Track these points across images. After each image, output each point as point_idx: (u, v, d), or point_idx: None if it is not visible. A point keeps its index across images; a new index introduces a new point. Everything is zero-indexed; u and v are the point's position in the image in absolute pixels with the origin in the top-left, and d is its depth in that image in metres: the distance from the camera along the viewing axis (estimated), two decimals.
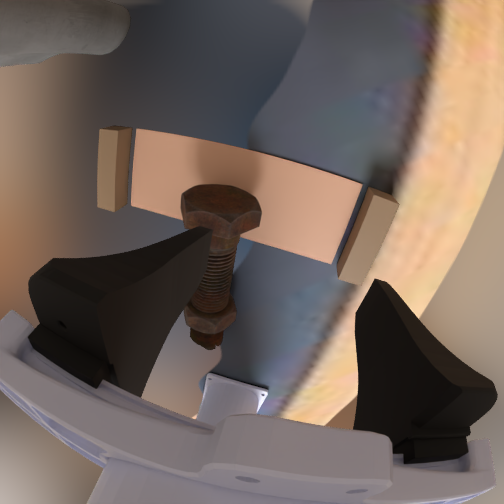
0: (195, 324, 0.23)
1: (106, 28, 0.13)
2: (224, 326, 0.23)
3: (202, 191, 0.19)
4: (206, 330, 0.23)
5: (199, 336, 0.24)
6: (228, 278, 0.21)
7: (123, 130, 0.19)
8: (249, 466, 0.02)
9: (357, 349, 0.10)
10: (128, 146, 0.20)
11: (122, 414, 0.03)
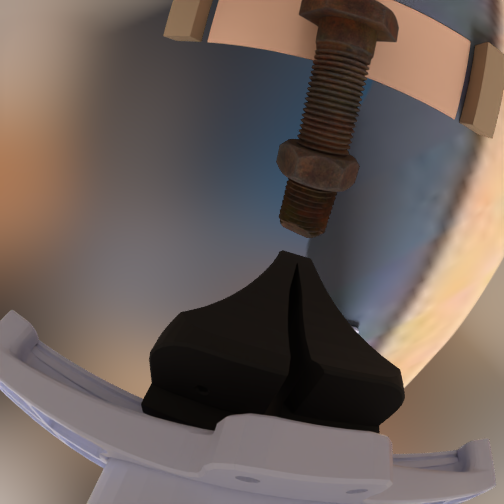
0: (309, 171, 0.14)
1: None
2: (347, 182, 0.15)
3: None
4: (326, 182, 0.14)
5: (303, 207, 0.16)
6: (359, 103, 0.13)
7: None
8: (249, 466, 0.02)
9: None
10: None
11: (122, 414, 0.03)
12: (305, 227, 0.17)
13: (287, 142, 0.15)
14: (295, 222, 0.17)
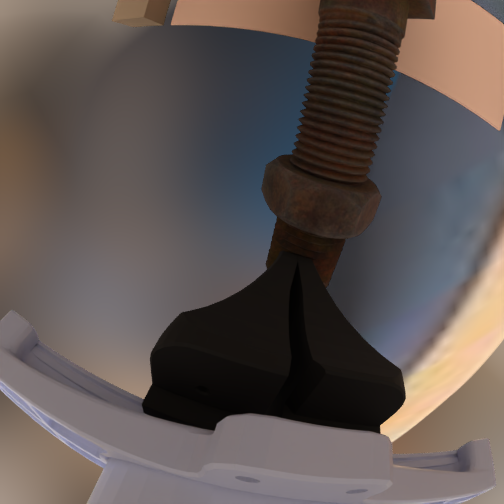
0: (309, 211, 0.09)
1: None
2: (364, 223, 0.10)
3: None
4: (335, 227, 0.10)
5: None
6: None
7: None
8: (249, 466, 0.02)
9: None
10: None
11: (122, 414, 0.03)
12: None
13: (276, 162, 0.10)
14: None
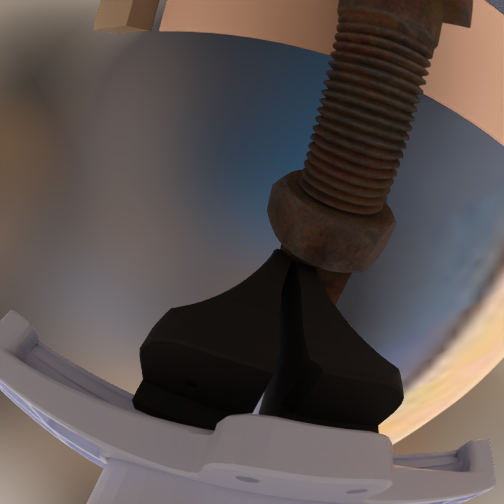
0: (318, 246, 0.09)
1: None
2: (375, 254, 0.09)
3: None
4: (345, 263, 0.09)
5: None
6: None
7: None
8: (249, 466, 0.02)
9: None
10: None
11: (122, 414, 0.03)
12: None
13: (284, 185, 0.09)
14: None
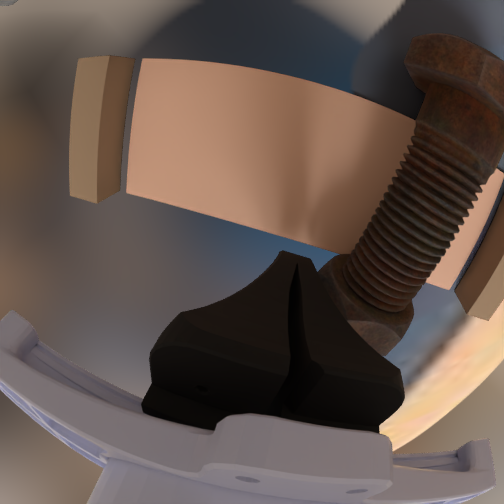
0: None
1: None
2: None
3: None
4: None
5: None
6: None
7: (119, 58, 0.09)
8: (249, 466, 0.02)
9: None
10: (125, 88, 0.10)
11: (122, 414, 0.03)
12: None
13: (331, 277, 0.10)
14: None
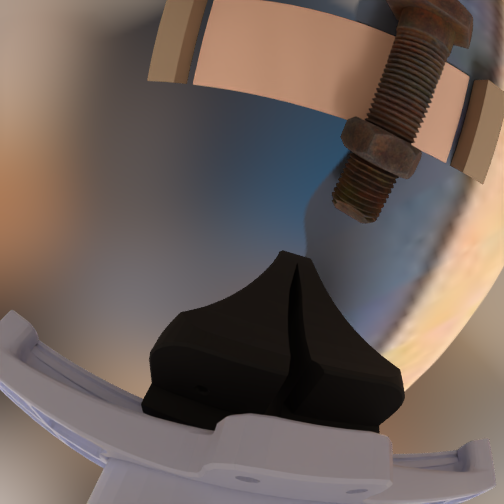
0: (383, 151, 0.12)
1: None
2: (412, 170, 0.13)
3: None
4: (398, 166, 0.12)
5: (366, 188, 0.14)
6: (432, 95, 0.11)
7: None
8: (249, 466, 0.02)
9: None
10: (201, 13, 0.13)
11: (122, 414, 0.03)
12: (363, 210, 0.15)
13: (358, 118, 0.13)
14: (354, 203, 0.15)
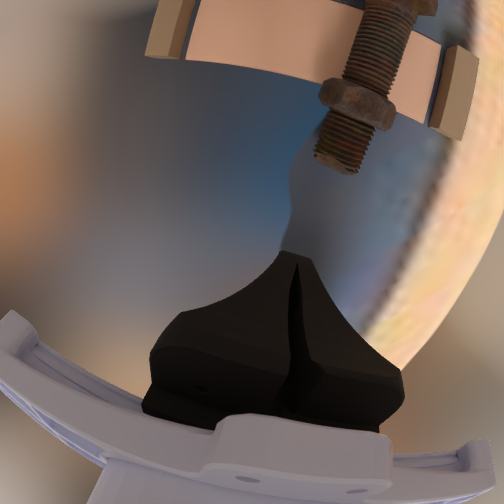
0: (356, 101, 0.13)
1: None
2: (386, 122, 0.14)
3: None
4: (371, 114, 0.13)
5: (343, 138, 0.15)
6: (401, 56, 0.12)
7: None
8: (249, 466, 0.02)
9: None
10: None
11: (122, 414, 0.03)
12: (342, 160, 0.15)
13: (332, 77, 0.14)
14: (333, 154, 0.15)
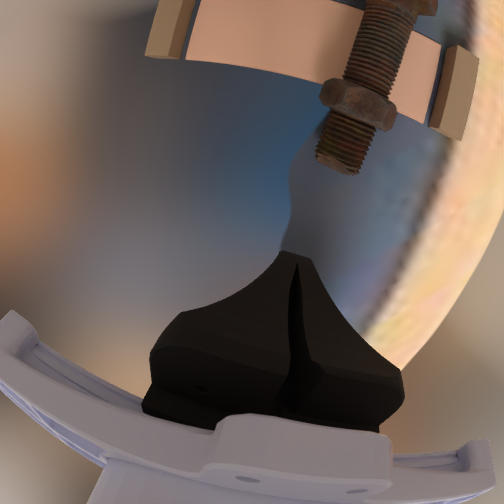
0: (357, 102, 0.13)
1: None
2: (387, 122, 0.14)
3: None
4: (372, 115, 0.13)
5: (344, 139, 0.15)
6: None
7: None
8: (249, 466, 0.02)
9: None
10: None
11: (122, 414, 0.03)
12: (343, 161, 0.15)
13: (333, 78, 0.14)
14: (334, 154, 0.15)
